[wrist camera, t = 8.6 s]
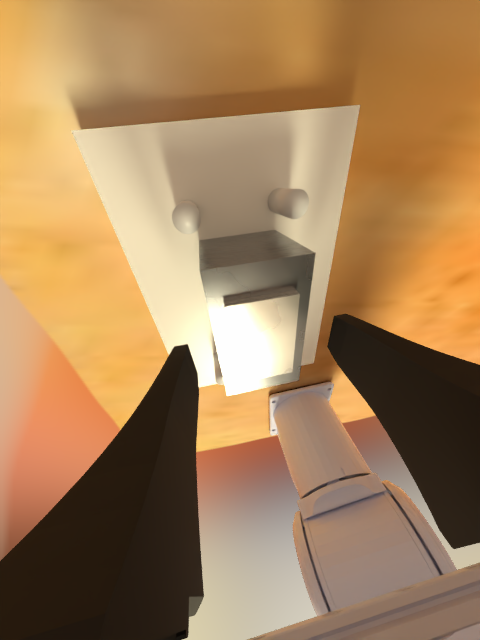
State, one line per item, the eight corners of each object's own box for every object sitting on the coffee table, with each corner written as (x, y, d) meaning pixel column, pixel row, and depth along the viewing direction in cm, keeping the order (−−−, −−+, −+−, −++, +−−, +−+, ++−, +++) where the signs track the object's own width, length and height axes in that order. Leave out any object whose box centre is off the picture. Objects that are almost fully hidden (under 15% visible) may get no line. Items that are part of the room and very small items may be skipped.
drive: (273, 332, 16) (301, 385, 12) (219, 342, 16) (228, 401, 12) (275, 229, 12) (321, 255, 7) (198, 240, 11) (199, 274, 7)
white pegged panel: (309, 356, 20) (327, 383, 18) (184, 381, 19) (182, 415, 17) (347, 111, 10) (405, 82, 7) (82, 135, 9) (28, 112, 6)
